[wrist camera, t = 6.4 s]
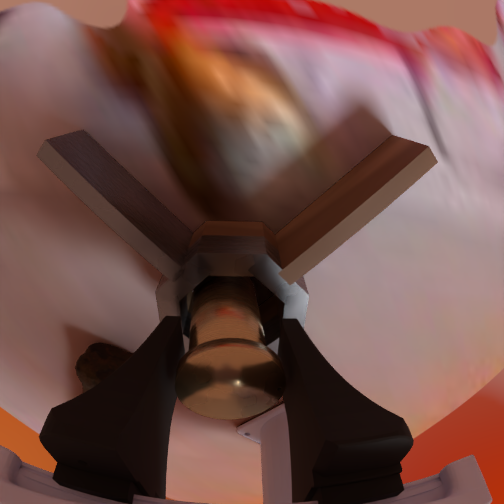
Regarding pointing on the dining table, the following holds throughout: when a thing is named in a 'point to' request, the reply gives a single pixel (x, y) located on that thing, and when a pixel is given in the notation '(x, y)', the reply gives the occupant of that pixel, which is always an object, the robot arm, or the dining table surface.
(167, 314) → the grey ring with handle
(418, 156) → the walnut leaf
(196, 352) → the bronze pin
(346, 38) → the dining table surface
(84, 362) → the hand tool
